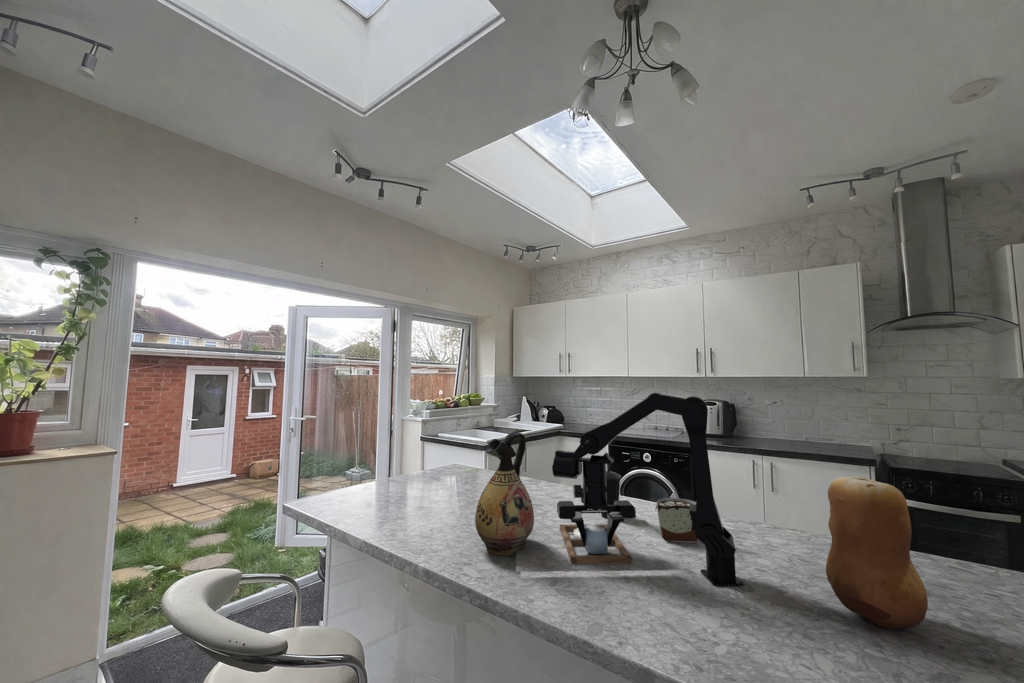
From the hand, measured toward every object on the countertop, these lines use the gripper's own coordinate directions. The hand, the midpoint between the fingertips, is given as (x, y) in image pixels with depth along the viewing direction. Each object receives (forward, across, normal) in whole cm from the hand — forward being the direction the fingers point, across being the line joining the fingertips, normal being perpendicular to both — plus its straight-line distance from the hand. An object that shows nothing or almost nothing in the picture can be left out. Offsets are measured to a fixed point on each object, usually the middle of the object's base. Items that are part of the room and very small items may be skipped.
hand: (596, 545), depth 102 cm
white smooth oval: (+2, 0, -11) cm, 11 cm away
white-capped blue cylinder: (+1, 0, 0) cm, 1 cm away
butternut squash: (+3, -45, +28) cm, 53 cm away
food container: (+3, -25, -12) cm, 28 cm away
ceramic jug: (+3, +22, -6) cm, 23 cm away
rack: (+3, 0, -6) cm, 6 cm away
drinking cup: (+3, -10, -28) cm, 29 cm away
